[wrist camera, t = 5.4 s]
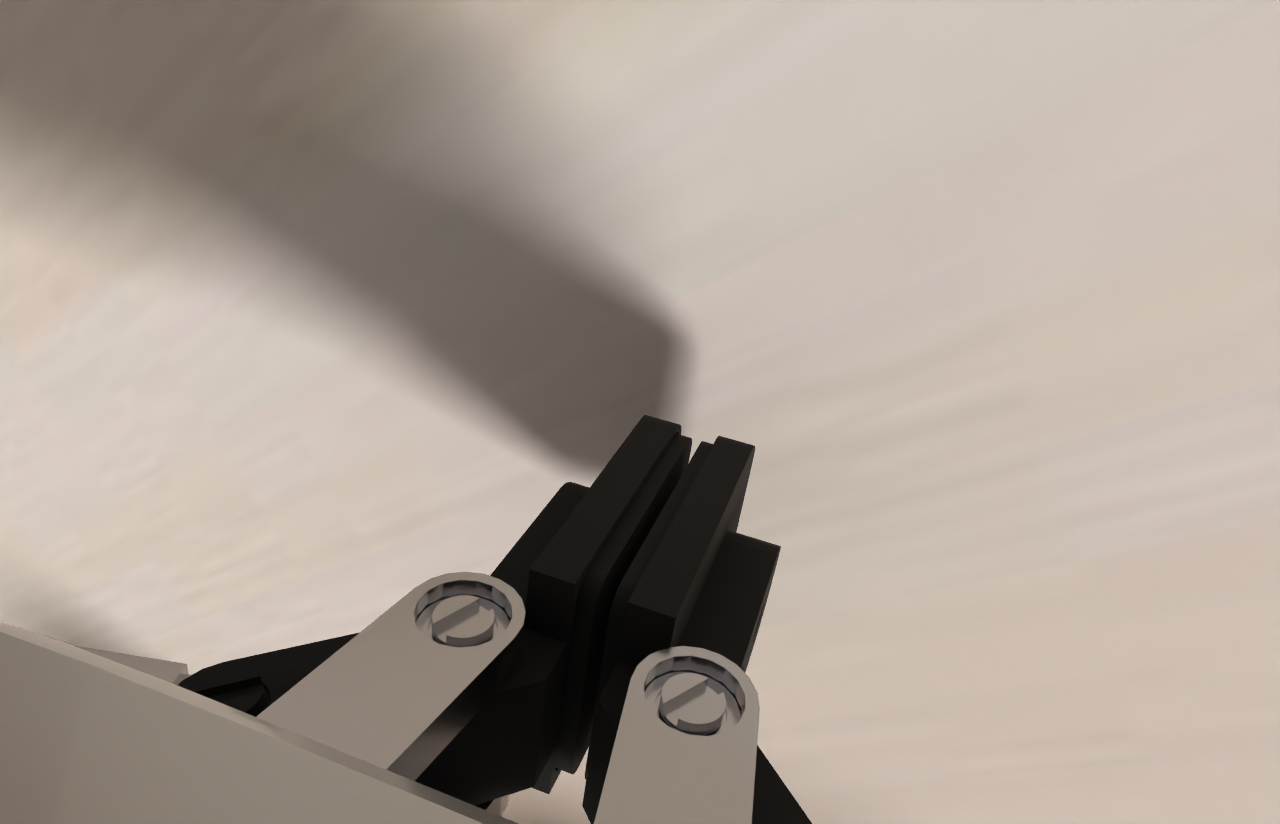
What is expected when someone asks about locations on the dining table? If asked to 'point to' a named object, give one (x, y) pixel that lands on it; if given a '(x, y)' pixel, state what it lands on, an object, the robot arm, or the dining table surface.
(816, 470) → the dining table surface
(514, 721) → the robot arm
